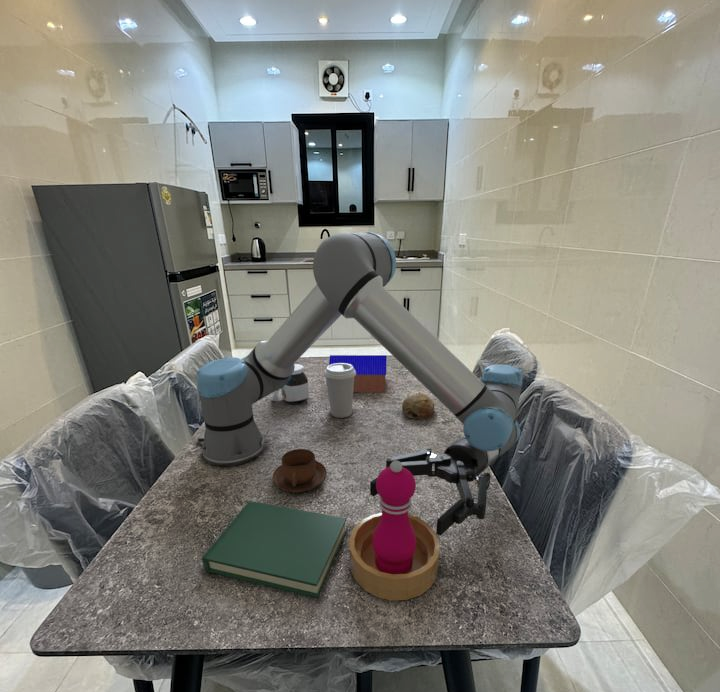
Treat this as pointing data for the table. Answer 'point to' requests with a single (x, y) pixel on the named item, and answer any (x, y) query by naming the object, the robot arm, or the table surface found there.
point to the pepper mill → (394, 521)
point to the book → (278, 548)
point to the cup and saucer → (299, 471)
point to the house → (365, 371)
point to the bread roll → (418, 406)
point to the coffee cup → (340, 388)
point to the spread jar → (295, 387)
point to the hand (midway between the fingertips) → (402, 507)
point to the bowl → (394, 584)
